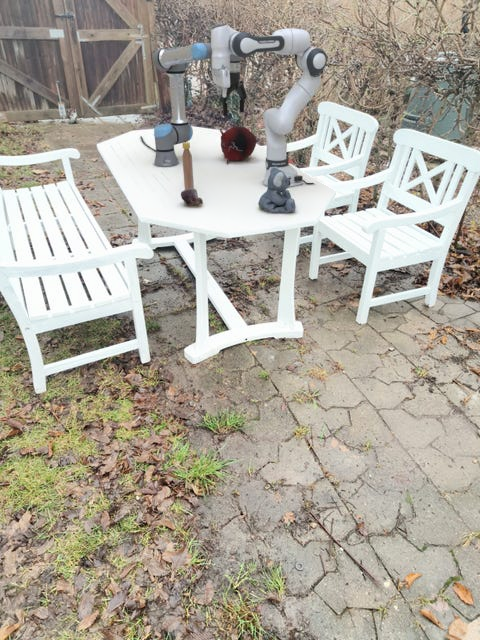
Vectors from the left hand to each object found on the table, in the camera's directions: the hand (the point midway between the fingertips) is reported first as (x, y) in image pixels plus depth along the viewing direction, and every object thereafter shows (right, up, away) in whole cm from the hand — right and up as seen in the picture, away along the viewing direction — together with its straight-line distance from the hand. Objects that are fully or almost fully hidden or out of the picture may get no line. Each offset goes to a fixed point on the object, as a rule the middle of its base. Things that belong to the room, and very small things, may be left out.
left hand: (233, 113), depth 256 cm
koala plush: (+22, -62, -30) cm, 72 cm away
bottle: (-24, -48, -9) cm, 54 cm away
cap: (-24, -26, -24) cm, 43 cm away
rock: (-21, -58, -25) cm, 67 cm away
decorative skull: (+2, -9, +46) cm, 47 cm away
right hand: (-6, -5, -31) cm, 32 cm away
